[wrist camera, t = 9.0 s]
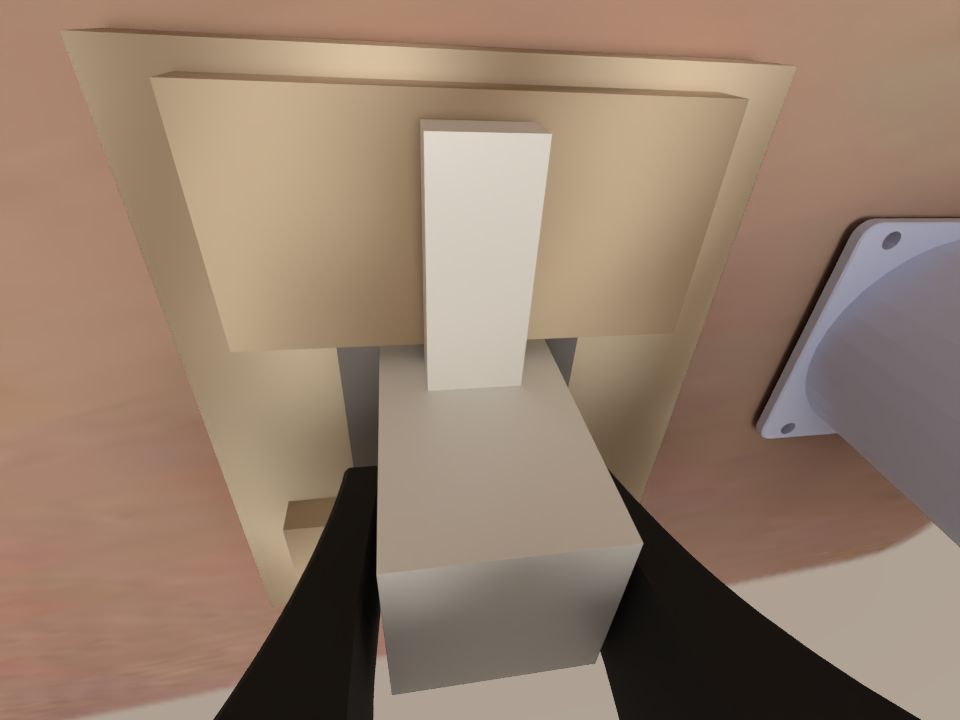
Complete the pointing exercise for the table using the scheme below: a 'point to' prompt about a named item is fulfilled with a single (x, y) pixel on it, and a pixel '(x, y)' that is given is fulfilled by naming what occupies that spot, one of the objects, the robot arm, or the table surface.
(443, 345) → the cube skewered by beam
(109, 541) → the table surface
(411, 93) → the display stand
